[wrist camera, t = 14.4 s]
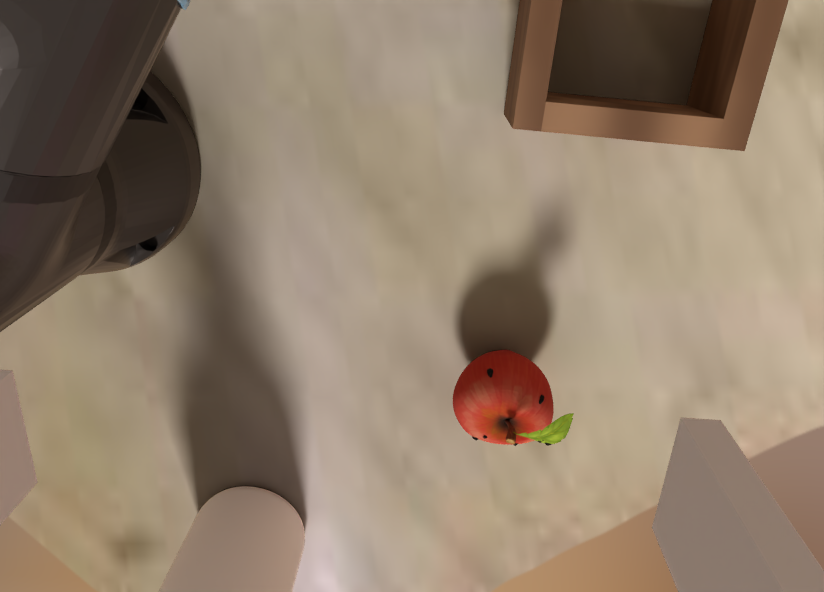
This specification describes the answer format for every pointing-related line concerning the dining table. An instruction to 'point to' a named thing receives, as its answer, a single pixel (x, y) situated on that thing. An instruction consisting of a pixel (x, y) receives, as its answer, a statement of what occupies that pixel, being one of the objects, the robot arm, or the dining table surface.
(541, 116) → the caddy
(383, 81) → the dining table surface
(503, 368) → the apple
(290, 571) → the wine bottle
